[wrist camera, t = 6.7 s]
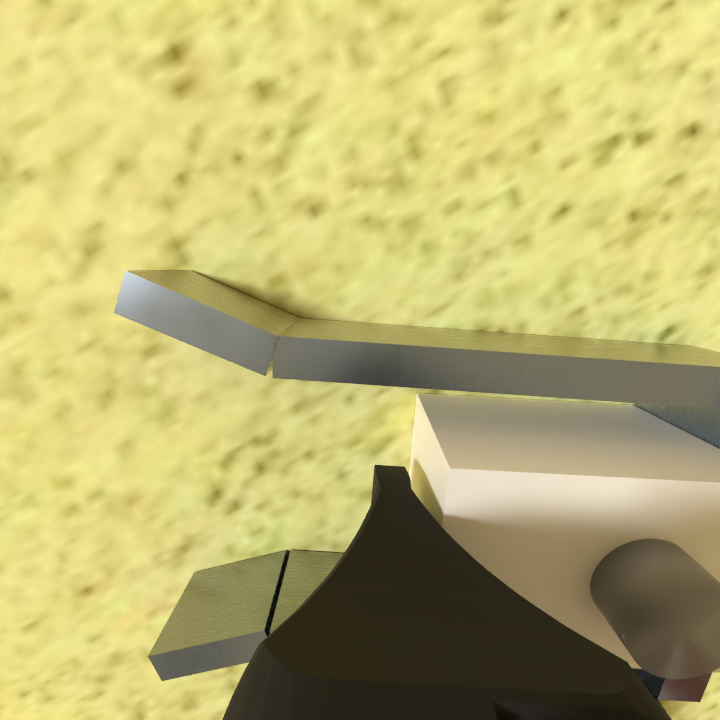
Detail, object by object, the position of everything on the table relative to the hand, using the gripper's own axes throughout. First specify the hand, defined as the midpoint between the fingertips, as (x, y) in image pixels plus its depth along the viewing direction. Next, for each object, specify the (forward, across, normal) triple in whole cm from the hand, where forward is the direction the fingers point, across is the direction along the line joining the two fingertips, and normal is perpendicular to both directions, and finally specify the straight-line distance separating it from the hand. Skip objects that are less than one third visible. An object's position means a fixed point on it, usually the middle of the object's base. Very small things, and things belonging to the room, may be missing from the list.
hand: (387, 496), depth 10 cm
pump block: (+2, -4, 0) cm, 5 cm away
